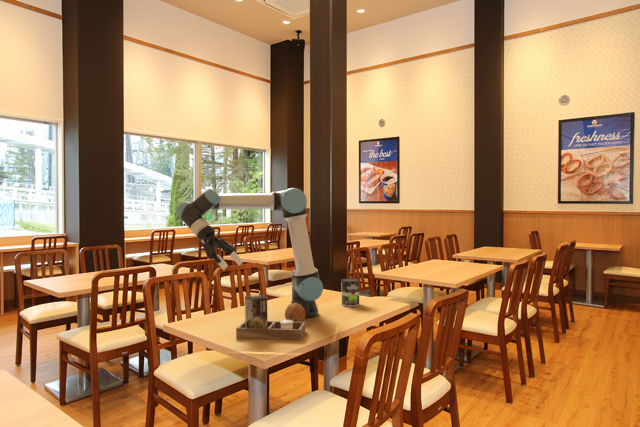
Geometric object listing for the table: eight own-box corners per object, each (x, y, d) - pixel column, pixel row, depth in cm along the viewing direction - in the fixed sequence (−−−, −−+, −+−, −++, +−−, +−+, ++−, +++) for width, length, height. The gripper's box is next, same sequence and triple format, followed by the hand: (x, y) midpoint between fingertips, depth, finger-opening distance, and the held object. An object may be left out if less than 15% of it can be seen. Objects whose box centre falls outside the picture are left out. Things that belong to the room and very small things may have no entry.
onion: (308, 322, 196) (307, 301, 196) (302, 327, 187) (301, 305, 186) (288, 320, 199) (288, 300, 198) (282, 326, 189) (281, 304, 189)
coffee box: (266, 331, 178) (265, 294, 178) (268, 336, 172) (267, 297, 172) (244, 333, 176) (244, 295, 176) (246, 337, 170) (245, 299, 170)
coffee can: (362, 306, 228) (361, 280, 228) (344, 307, 225) (344, 281, 225) (356, 302, 238) (356, 277, 238) (339, 303, 235) (338, 278, 235)
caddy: (245, 331, 181) (244, 320, 181) (305, 333, 178) (305, 322, 178) (236, 340, 169) (236, 328, 169) (300, 342, 166) (300, 330, 166)
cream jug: (281, 333, 176) (281, 319, 176) (294, 333, 175) (294, 319, 175) (278, 337, 170) (278, 323, 170) (292, 337, 170) (291, 323, 170)
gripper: (213, 235, 195) (241, 267, 191) (180, 238, 171) (212, 276, 167) (222, 223, 193) (252, 256, 189) (191, 226, 169) (224, 263, 165)
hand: (233, 265), depth 178 cm, fingers open, 13 cm apart
